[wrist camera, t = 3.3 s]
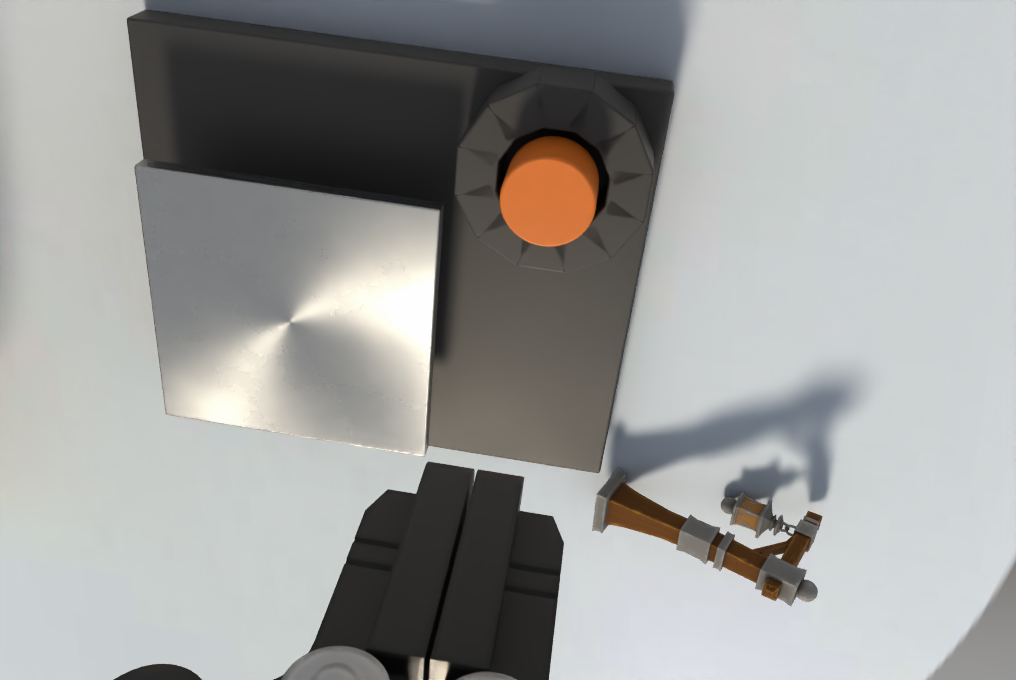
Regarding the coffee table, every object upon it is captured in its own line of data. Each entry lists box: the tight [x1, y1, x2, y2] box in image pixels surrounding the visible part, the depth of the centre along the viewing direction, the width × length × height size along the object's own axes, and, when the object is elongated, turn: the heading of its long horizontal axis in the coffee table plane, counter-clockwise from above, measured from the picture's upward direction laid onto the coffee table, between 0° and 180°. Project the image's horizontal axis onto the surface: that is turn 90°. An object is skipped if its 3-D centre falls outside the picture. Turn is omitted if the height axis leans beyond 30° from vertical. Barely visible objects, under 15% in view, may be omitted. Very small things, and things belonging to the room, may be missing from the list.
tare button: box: [500, 136, 599, 247], centre depth 25 cm, size 3×3×2 cm
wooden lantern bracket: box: [592, 468, 822, 606], centre depth 33 cm, size 2×8×4 cm, turn 87°
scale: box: [127, 10, 674, 473], centre depth 29 cm, size 16×14×3 cm
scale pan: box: [135, 159, 444, 456], centre depth 29 cm, size 9×9×1 cm
